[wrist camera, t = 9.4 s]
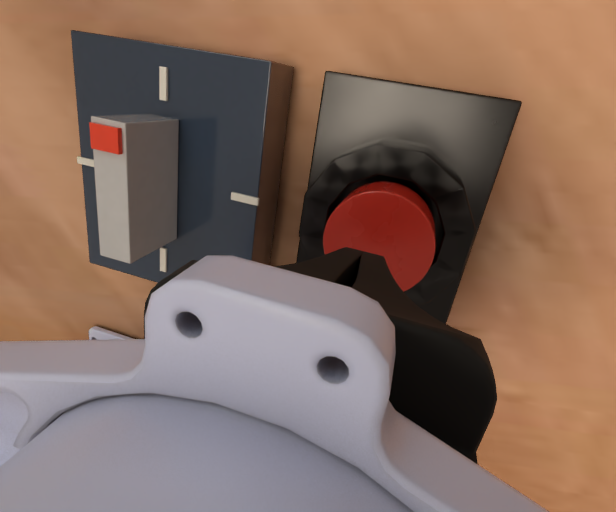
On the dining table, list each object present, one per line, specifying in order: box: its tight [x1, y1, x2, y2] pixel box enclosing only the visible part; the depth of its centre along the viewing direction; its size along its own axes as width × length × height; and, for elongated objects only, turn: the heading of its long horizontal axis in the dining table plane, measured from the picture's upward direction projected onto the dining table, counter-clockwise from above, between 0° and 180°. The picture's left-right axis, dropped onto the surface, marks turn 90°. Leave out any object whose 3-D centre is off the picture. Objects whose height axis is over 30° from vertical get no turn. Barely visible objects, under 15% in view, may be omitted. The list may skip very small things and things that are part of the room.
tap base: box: [71, 30, 294, 283], centre depth 21 cm, size 12×10×3 cm
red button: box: [323, 181, 436, 292], centre depth 16 cm, size 4×4×2 cm
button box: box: [296, 71, 522, 324], centre depth 19 cm, size 12×8×4 cm, turn 171°
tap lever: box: [89, 114, 179, 264], centre depth 18 cm, size 6×2×4 cm, turn 171°
